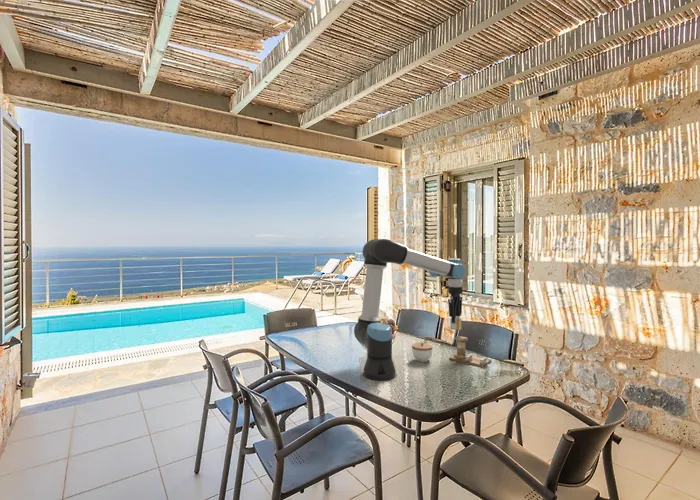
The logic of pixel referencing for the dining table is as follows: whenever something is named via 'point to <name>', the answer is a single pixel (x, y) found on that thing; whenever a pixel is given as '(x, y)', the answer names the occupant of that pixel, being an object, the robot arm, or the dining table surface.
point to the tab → (457, 324)
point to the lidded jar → (422, 352)
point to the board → (472, 360)
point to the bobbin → (461, 347)
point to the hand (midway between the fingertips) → (455, 328)
